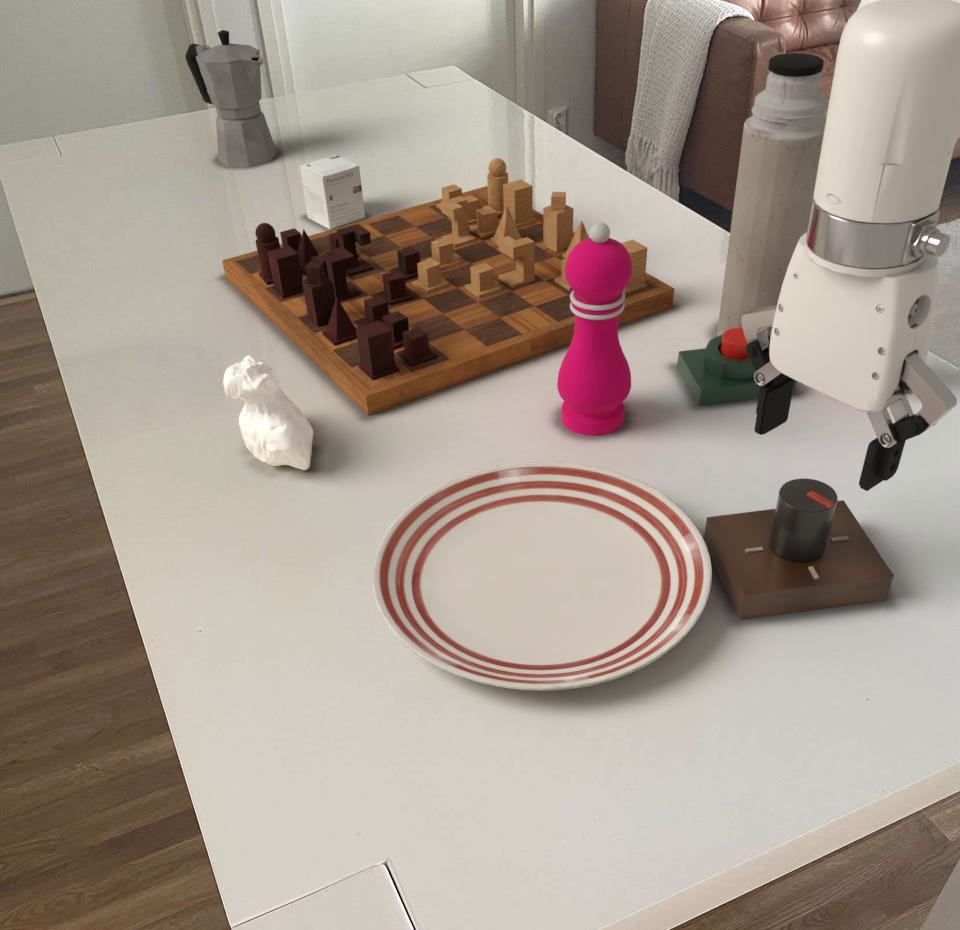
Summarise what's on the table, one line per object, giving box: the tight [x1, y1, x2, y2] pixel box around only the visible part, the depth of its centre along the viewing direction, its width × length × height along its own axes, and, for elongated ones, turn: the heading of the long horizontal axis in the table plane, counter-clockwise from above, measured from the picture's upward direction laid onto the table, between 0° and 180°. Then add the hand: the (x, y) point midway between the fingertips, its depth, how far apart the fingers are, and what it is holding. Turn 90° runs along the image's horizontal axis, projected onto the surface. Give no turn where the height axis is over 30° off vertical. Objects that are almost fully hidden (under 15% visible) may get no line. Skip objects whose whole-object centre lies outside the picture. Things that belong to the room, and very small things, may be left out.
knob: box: [769, 478, 839, 562], centre depth 80 cm, size 4×4×5 cm
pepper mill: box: [556, 221, 632, 437], centre depth 95 cm, size 7×7×20 cm
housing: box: [676, 335, 798, 407], centre depth 104 cm, size 10×8×4 cm
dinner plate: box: [372, 461, 713, 692], centre depth 83 cm, size 28×27×3 cm
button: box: [721, 328, 750, 360], centre depth 102 cm, size 4×4×2 cm
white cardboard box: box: [299, 154, 366, 230], centre depth 139 cm, size 6×6×7 cm
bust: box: [222, 354, 314, 471], centre depth 97 cm, size 12×8×11 cm
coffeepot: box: [185, 29, 278, 168], centre depth 154 cm, size 15×9×18 cm, turn 57°
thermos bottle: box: [716, 52, 828, 338], centre depth 102 cm, size 8×8×28 cm
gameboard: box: [221, 157, 675, 416], centre depth 120 cm, size 40×40×9 cm
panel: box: [703, 499, 895, 621], centre depth 83 cm, size 12×10×3 cm
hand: (820, 453), depth 76 cm, fingers open, 9 cm apart
